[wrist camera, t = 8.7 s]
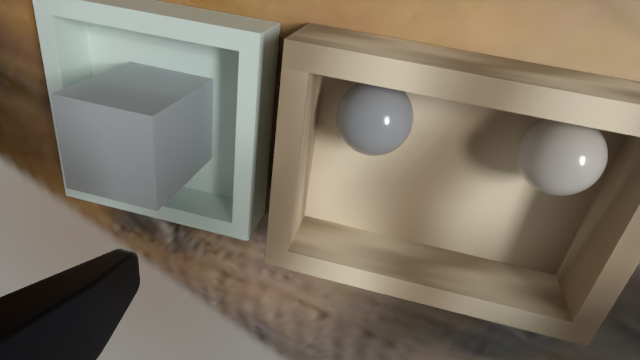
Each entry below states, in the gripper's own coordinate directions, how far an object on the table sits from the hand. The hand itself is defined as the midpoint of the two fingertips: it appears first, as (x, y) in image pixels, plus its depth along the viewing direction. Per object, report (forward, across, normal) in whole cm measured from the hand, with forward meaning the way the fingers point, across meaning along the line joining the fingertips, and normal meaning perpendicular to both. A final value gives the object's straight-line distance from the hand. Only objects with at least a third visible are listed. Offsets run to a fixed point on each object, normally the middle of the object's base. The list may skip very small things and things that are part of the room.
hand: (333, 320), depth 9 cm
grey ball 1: (+12, 0, -1) cm, 12 cm away
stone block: (+12, +10, +2) cm, 15 cm away
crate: (+12, -3, +2) cm, 12 cm away
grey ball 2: (+12, -6, -1) cm, 13 cm away
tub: (+12, +10, +2) cm, 16 cm away
